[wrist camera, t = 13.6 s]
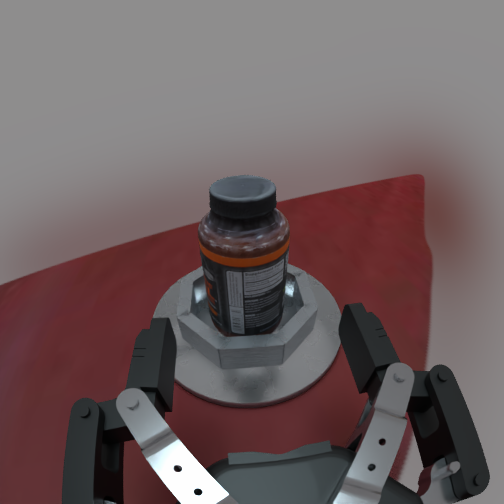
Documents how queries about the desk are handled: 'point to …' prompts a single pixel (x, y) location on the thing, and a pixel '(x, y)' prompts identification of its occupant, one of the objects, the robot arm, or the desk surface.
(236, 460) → the robot arm
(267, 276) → the supplement bottle
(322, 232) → the desk surface
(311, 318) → the steel collar
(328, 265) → the desk surface
